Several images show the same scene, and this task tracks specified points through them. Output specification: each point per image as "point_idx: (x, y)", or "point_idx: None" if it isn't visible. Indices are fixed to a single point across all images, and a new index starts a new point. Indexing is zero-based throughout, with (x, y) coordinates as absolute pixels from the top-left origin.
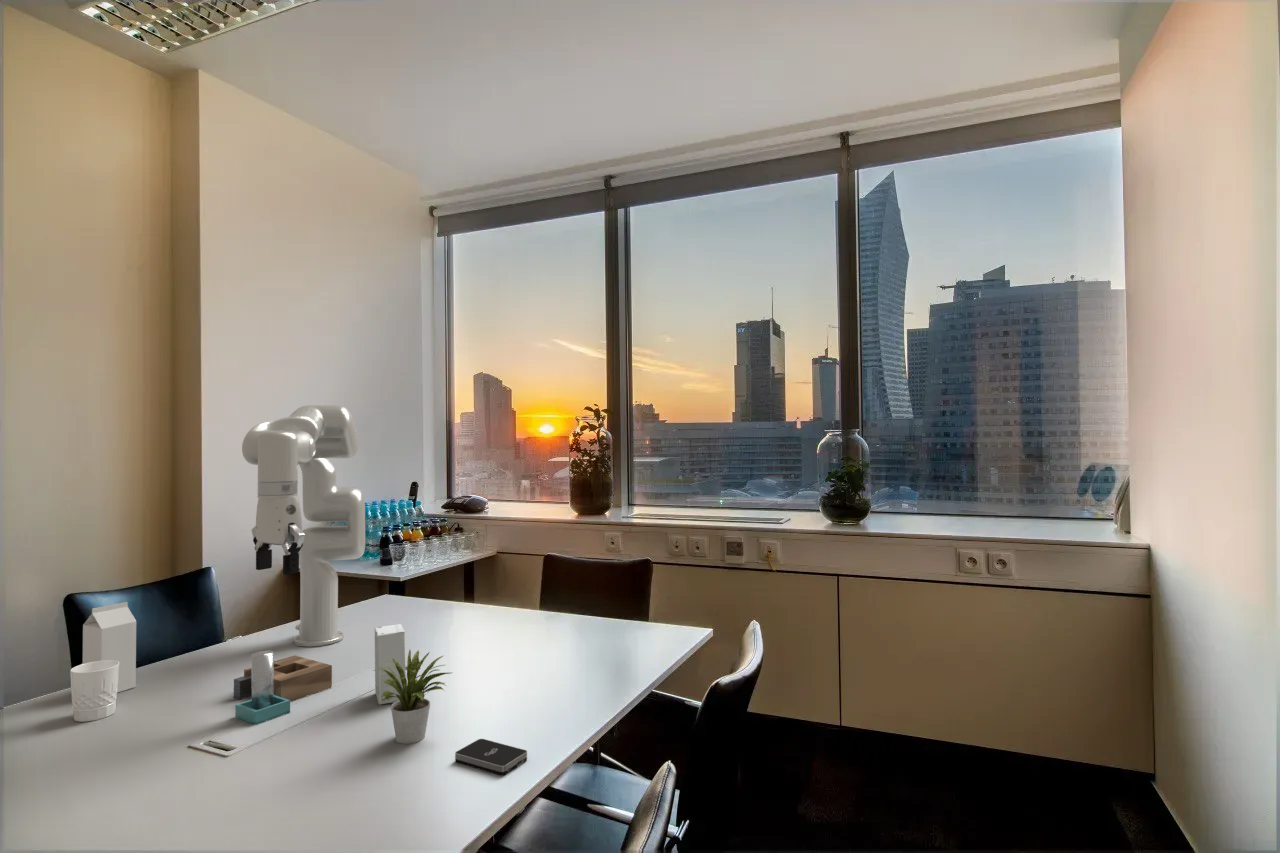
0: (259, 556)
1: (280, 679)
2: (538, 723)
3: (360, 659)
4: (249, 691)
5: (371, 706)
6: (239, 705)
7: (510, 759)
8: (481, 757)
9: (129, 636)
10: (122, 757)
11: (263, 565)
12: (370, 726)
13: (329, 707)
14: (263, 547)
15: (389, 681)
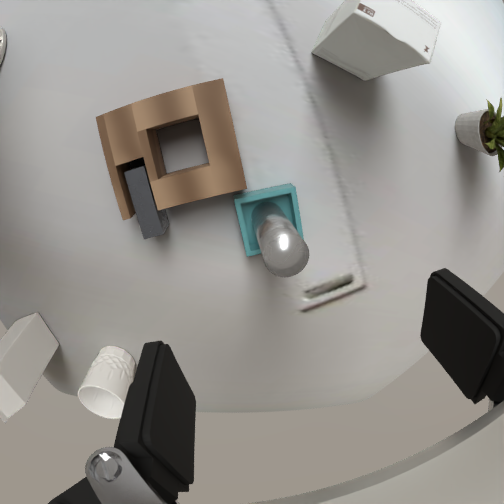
0: (189, 457)
1: (236, 185)
2: (497, 44)
3: (109, 7)
4: (163, 210)
5: (359, 89)
6: (255, 253)
7: None
8: None
9: (10, 362)
10: (277, 359)
11: (183, 394)
12: (417, 134)
13: (315, 130)
14: (165, 495)
15: (492, 142)
